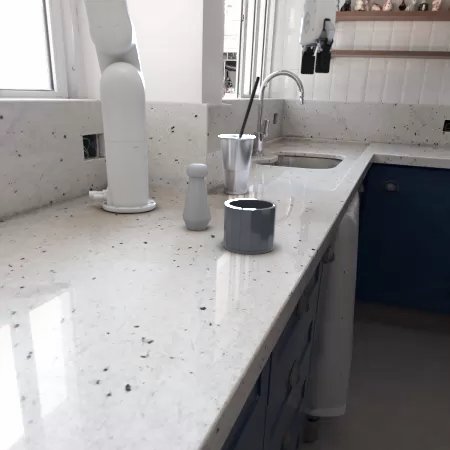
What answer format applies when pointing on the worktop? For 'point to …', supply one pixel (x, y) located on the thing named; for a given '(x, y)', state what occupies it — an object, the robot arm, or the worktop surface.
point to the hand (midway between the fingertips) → (314, 73)
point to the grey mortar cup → (249, 226)
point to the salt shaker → (196, 198)
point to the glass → (237, 155)
